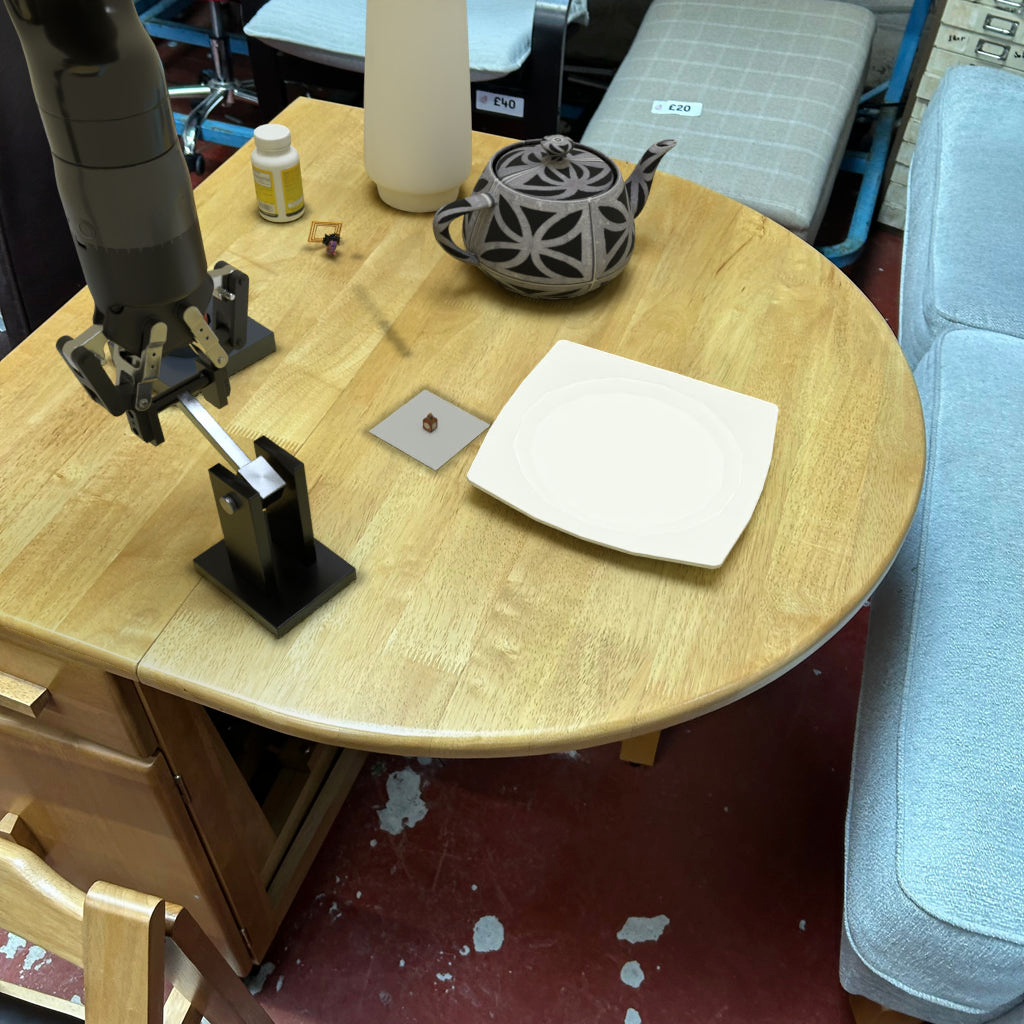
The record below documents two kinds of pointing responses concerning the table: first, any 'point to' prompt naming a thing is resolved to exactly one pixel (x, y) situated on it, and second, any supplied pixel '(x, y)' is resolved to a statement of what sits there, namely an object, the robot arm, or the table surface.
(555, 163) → the teapot
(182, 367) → the button box
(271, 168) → the supplement bottle
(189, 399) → the press lever
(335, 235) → the figurine with orange frame
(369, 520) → the table surface
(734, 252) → the table surface
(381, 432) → the grey square pad
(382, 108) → the vase
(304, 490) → the lever bracket
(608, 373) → the plate
